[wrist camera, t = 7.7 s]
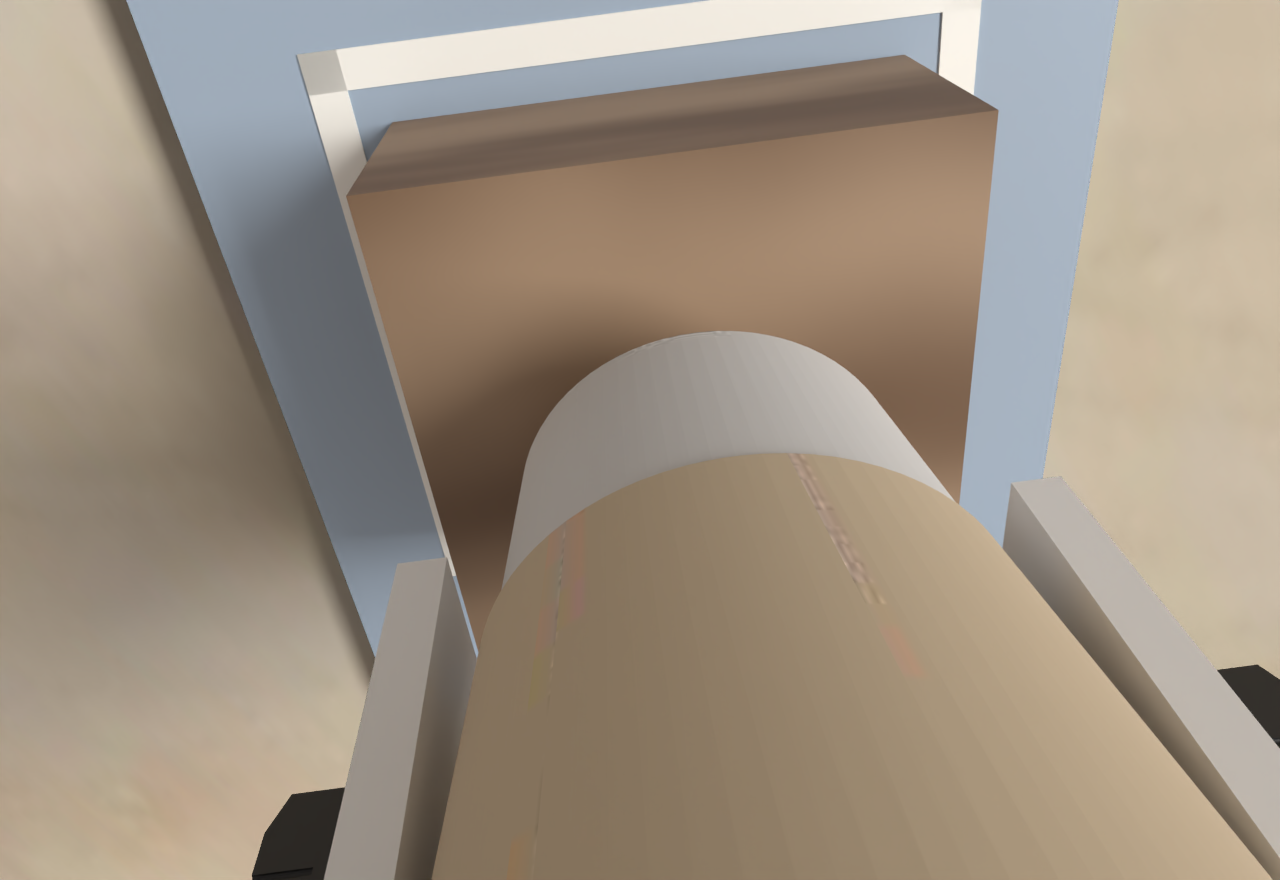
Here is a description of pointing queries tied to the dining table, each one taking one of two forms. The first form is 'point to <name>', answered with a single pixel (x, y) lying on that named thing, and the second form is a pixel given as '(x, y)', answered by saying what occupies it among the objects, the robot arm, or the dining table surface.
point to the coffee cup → (787, 659)
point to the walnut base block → (673, 258)
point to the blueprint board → (564, 69)
